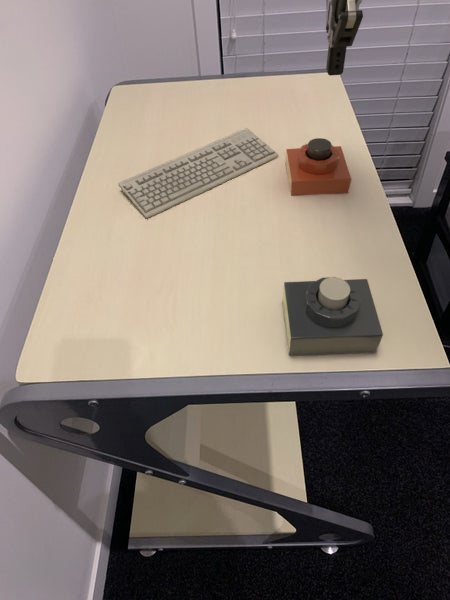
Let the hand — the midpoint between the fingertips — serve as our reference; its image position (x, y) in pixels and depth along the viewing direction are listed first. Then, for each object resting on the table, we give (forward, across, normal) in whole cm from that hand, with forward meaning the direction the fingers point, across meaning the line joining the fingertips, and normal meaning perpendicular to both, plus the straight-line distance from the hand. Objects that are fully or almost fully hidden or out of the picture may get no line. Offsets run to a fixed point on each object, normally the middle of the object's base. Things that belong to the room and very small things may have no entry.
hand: (334, 72), depth 62 cm
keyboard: (+19, +5, +22) cm, 29 cm away
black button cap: (+15, +2, 0) cm, 15 cm away
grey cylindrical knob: (+14, -31, +3) cm, 34 cm away
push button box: (+19, -31, +3) cm, 37 cm away
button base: (+19, +2, 0) cm, 19 cm away
